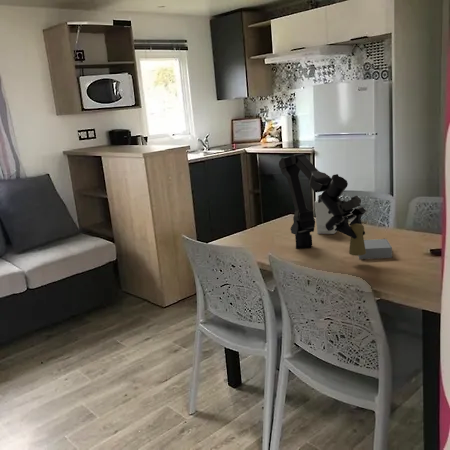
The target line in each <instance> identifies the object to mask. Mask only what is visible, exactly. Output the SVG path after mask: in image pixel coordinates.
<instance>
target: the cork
mask: <svg viewBox="0 0 450 450" xmlns="http://www.w3.org/2000/svg"><path fill="white" fill-rule="evenodd" d="M349 226H350V225H349ZM350 227H351V229H352V230H353V231H354V233H355V234H356V236H357V238H356V239H354V238H352V237H350V240H349V241H350V243H349V251H348V253H349V255H350V256H355V257H358V256H359V255H364V254H366V250H365V244H364V240H365V238H364V235H363V232H364V231H365V226H364V225H363V223H362V224H352V225H351V226H350Z"/></svg>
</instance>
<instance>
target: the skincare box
mask: <svg viewBox="0 0 450 450" xmlns="http://www.w3.org/2000/svg"><path fill="white" fill-rule="evenodd" d="M314 210H315V225H316V233H317V234H319V235H320V234H322V235H323V234H324V235H334V234H335V233H337V232H338V231H335V229H336V225H334V229H333V230H331V231H328V230H327V229H326V226H325V224H326V223H327V222H328V221H329V220H330V219H331V217H333V214H332V213H331V214H329V213H328V211H329V209H328V208H327V207H326V206H325V204H324V203H323V202H320V203H318V199H316V200H315V201H314Z"/></svg>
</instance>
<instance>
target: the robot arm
mask: <svg viewBox="0 0 450 450" xmlns="http://www.w3.org/2000/svg"><path fill="white" fill-rule="evenodd" d="M278 167H279V169H280V171H281V174H282V175H283V176H284V177H285V178H286V180H287V183H288V187H289V191H290V195H291V200H292V203H293V207H294V214H293V216H292V217H293V218H292V221H293V223H292V225H291V227H290V233H291V234H293V235H294V236H295V238H294V239H295V249H311V248H312V246H313V237H312V235H313V234H311V233H314V232H315V227H316V218H315V216H314V213H313V210H309V209H308V207H307V204H306V201H305V196H304V192H303V188H302V185H301V180H300V177H299V176H300V172H302V174H303V175H304V176H306V178H307V179H308V180H309V186H310V188H311V190H312V191H313V192H314V193H321V194H319V195H318V196H317V200H318V203H320V202H323V203H324V204H325V206H326V207H327V208H328V209H329V211H328V213H329V214H331V213H332V214H333V217H331V219H330V220H329V221H328V222H327V223H326V224H325V226H326V229H327V230H328V231H331V230H333V229H334V225H336V229H335V231H337V232H338V233H341V234H344V235H346V236H348V237H349V238H351V237H352V238H354V239H356V238H357V236H356V234H355V233H354V231H353V230H352V229H351V227H350V226H351V225H352V224H362V225H363V223H362V216H363V215H364V214H366V212H367V210H366V209H365V208H364V207H363V206H361V204H362V199H361V198H360V197H359V196H358V195H354V196H353V197H350V200H347V201H346V200H344V199H343V200H341V198H340V197H341V196H342V195H343V193H344V192H345V190H346V189H347V187H348V185H349V184H348V181H347V179H345V178H344V177H343V176H339V174H338V173H337V174H335V173H334V174H333V175H332V176H329V175H328V174H327V173H325V172H322V171H319V170H318V169H317V167H315V165H314V164H313V163H312V162H311V161H310V160H309V159H308V158H307V155H306V154H305V153H301V152H300V153H296V154H293V155H291V156H286V157H281V158H280V160H279V161H278ZM365 235H366V231H365V230H364V232H363V236H365Z"/></svg>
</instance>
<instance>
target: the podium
mask: <svg viewBox="0 0 450 450" xmlns="http://www.w3.org/2000/svg"><path fill="white" fill-rule="evenodd" d="M364 244H365V250H366V254H364V255H359V256H357V257H358V259H359V260H369V259H370V260H371V259H374V260H376V259H392V258H393V247H392V245H391V244H390V241H389V240H388V239H387V238H379V239H364Z"/></svg>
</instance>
